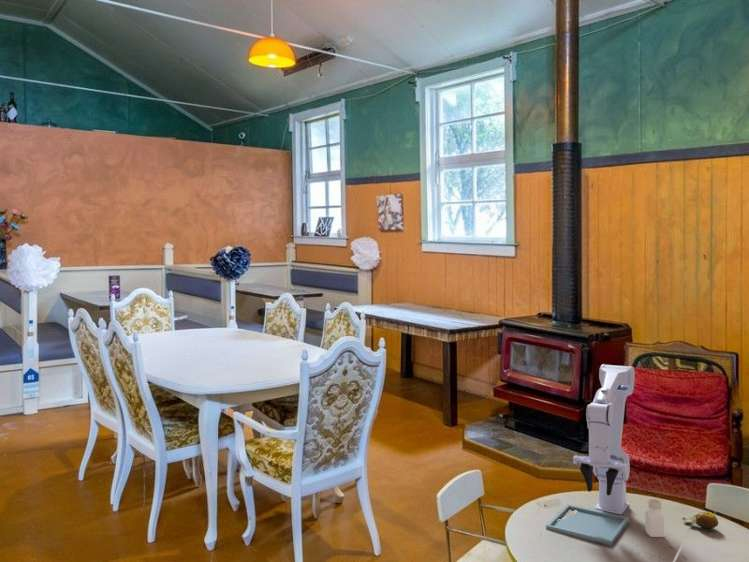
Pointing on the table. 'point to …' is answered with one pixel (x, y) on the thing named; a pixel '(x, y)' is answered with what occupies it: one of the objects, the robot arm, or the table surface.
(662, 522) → the pepper shaker
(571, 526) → the tray
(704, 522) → the chicken drumstick
